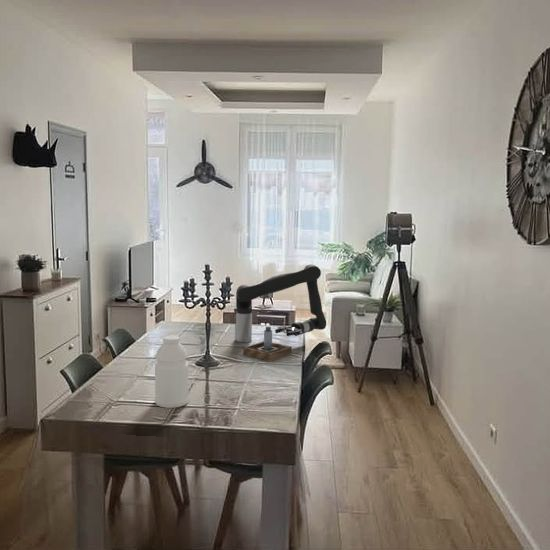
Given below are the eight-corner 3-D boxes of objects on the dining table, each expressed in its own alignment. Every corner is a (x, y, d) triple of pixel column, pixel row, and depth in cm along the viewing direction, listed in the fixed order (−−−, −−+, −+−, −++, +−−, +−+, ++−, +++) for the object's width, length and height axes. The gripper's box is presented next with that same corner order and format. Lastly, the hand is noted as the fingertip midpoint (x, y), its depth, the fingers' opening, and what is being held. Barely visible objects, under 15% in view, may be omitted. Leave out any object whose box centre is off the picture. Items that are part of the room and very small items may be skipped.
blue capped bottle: (262, 352, 298) (262, 327, 296) (267, 350, 301) (267, 325, 299) (268, 353, 295) (268, 328, 293) (273, 352, 299) (273, 327, 297)
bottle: (158, 410, 218) (157, 343, 214) (151, 398, 231) (151, 334, 227) (192, 405, 224) (192, 340, 220) (184, 394, 237) (184, 331, 232)
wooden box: (243, 354, 297) (243, 347, 296) (265, 347, 312) (265, 340, 311) (270, 361, 285) (270, 354, 285) (291, 353, 300) (291, 346, 299)
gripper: (291, 319, 321) (272, 324, 309) (309, 323, 311) (290, 328, 299) (290, 332, 322) (271, 336, 310) (309, 336, 312) (290, 341, 301)
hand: (281, 332), depth 305 cm, fingers open, 8 cm apart
